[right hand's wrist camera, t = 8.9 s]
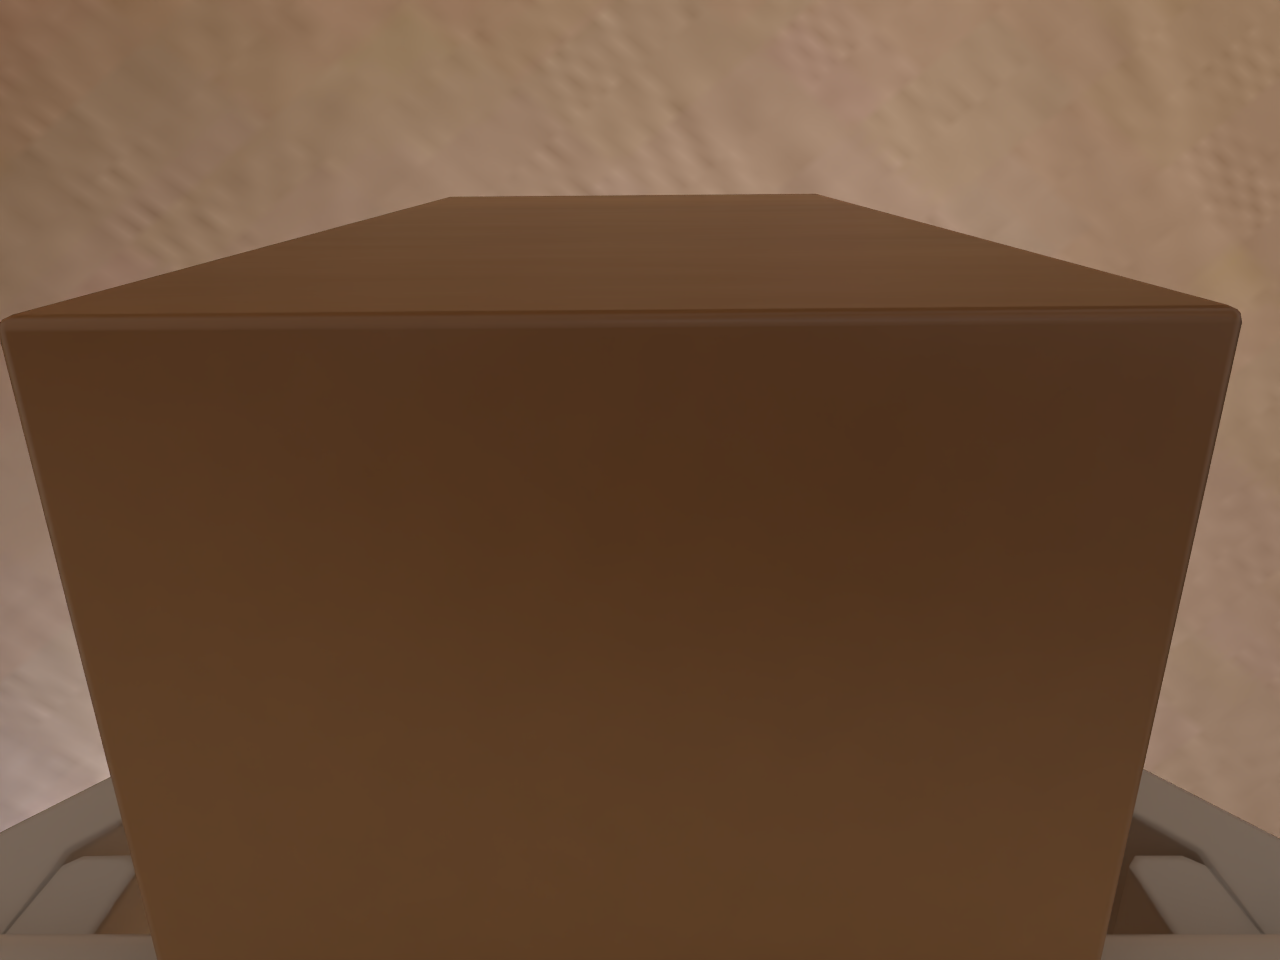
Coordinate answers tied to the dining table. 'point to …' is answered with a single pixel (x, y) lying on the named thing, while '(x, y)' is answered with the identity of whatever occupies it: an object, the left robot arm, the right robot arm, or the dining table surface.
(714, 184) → the dining table surface
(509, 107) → the dining table surface
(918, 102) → the dining table surface
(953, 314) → the beam
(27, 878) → the right robot arm
